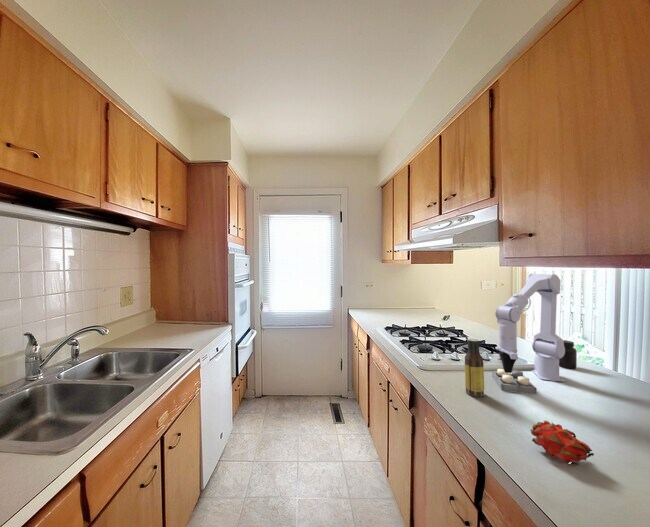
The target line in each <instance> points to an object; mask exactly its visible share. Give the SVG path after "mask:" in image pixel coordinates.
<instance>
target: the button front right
mask: <svg viewBox="0 0 650 527" xmlns="http://www.w3.org/2000/svg"><path fill="white" fill-rule="evenodd" d="M502 381H503V382H505V383H509V384H512V383H513V376H510V375H502Z"/></svg>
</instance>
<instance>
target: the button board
mask: <svg viewBox="0 0 650 527" xmlns="http://www.w3.org/2000/svg"><path fill="white" fill-rule="evenodd" d="M508 375H510V376H512V373H508ZM523 377H526V376H525V375H524V374H523ZM491 378H492V379H493V380H494V382H495V384H496V385H497V386H498V388H499V389H500V390H501V391H503V392H510V393H519V394H529V395H537V390H538V389H537V387H535V385H534V384H533V383H532V382H531V381H530V380H529V385H521V384H519V383H518V378H514V377H513V383H512V384H509V383H505V382H503V381H502V377H501V376H499V375H497V371H492V372H491Z"/></svg>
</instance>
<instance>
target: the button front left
mask: <svg viewBox="0 0 650 527" xmlns="http://www.w3.org/2000/svg"><path fill="white" fill-rule="evenodd" d="M529 381H530V378H528V377H527V376H525V377H523V376H518V383H519V384H521V385H529Z"/></svg>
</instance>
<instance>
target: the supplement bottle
mask: <svg viewBox="0 0 650 527" xmlns="http://www.w3.org/2000/svg"><path fill="white" fill-rule="evenodd" d="M563 341H564V347H565V354H564V356H563V357H562V358H560V359H559V368H563V369H564V370H565V369H567V370H576V369H577V363H578V362H577V360H578V357H577V355H578V353H577V352H578V351H577V349H576V348H575V343H574V342H573V341H571V340H564V339H563Z"/></svg>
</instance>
